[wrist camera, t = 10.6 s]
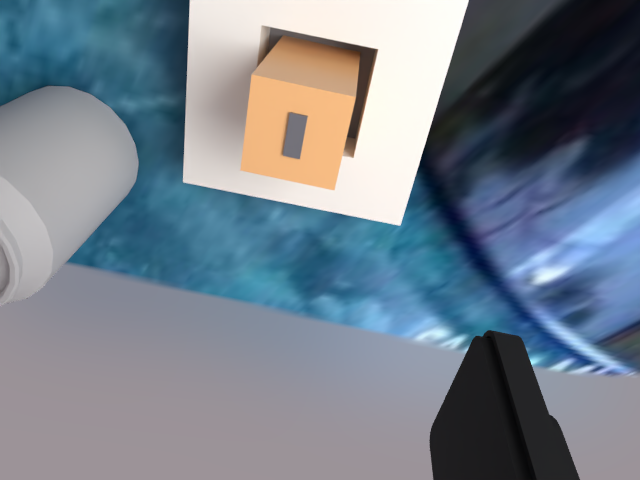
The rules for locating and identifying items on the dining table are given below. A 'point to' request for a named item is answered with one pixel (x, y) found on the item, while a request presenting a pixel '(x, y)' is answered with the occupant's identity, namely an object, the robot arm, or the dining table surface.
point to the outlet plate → (370, 104)
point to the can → (56, 181)
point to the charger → (300, 112)
